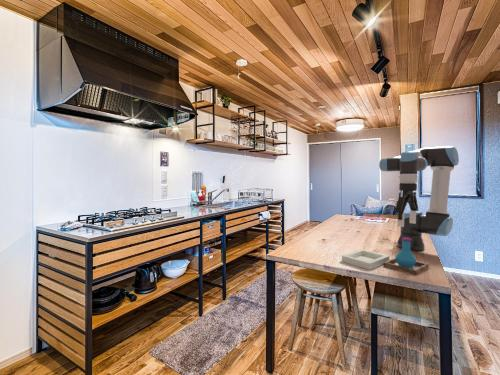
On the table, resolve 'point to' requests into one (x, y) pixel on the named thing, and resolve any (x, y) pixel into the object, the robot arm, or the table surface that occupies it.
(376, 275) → the table surface
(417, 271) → the frame
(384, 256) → the tray
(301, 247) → the table surface
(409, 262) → the teal vase
